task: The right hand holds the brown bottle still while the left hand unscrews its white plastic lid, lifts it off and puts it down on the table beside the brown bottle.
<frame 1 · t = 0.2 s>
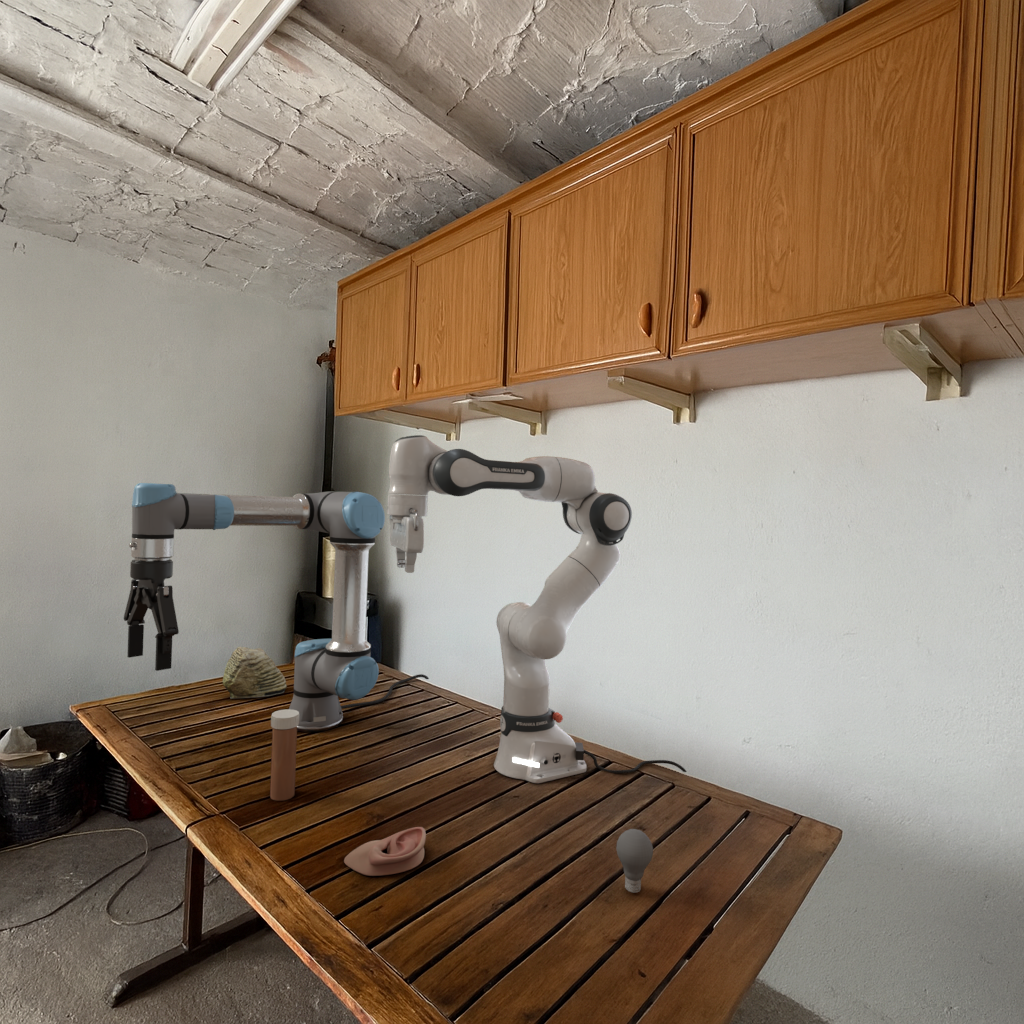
left hand: (148, 662, 129), 28 cm above the table, tool pointing down, fingers open, 13 cm apart
right hand: (405, 569, 141), 48 cm above the table, tool pointing down, fingers open, 8 cm apart
anatomical model: (385, 859, 112), on the table
brown bottle: (282, 795, 134), on the table
lid: (285, 715, 133), point 17 cm above the table, screwed on, not yet turned
light bulb: (632, 891, 106), on the table
fossil: (254, 694, 198), on the table
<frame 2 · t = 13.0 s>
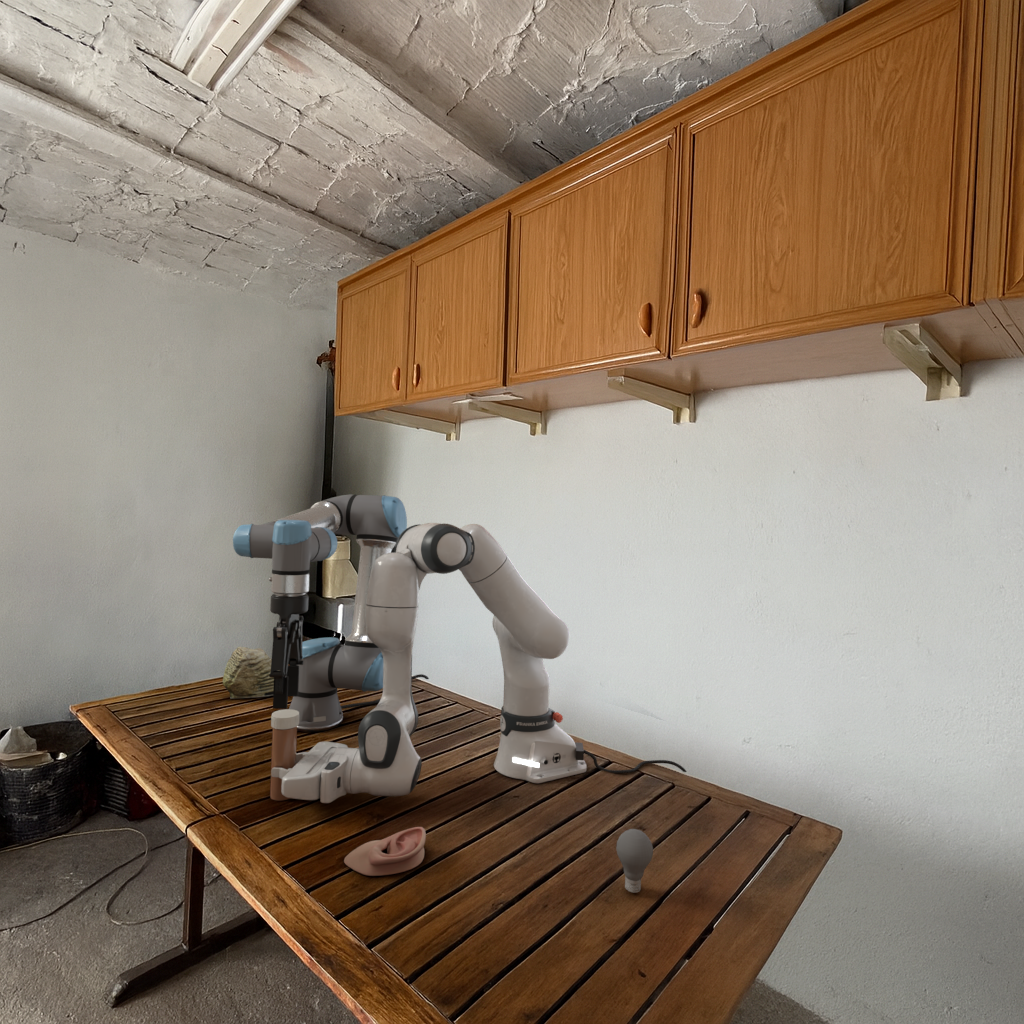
left hand: (285, 701, 133), 20 cm above the table, tool pointing down, fingers open, 7 cm apart
right hand: (279, 764, 134), 6 cm above the table, tool horizontal, fingers closed on brown bottle, 5 cm apart
brown bottle: (282, 795, 134), on the table, touching right hand
everything else where it was.
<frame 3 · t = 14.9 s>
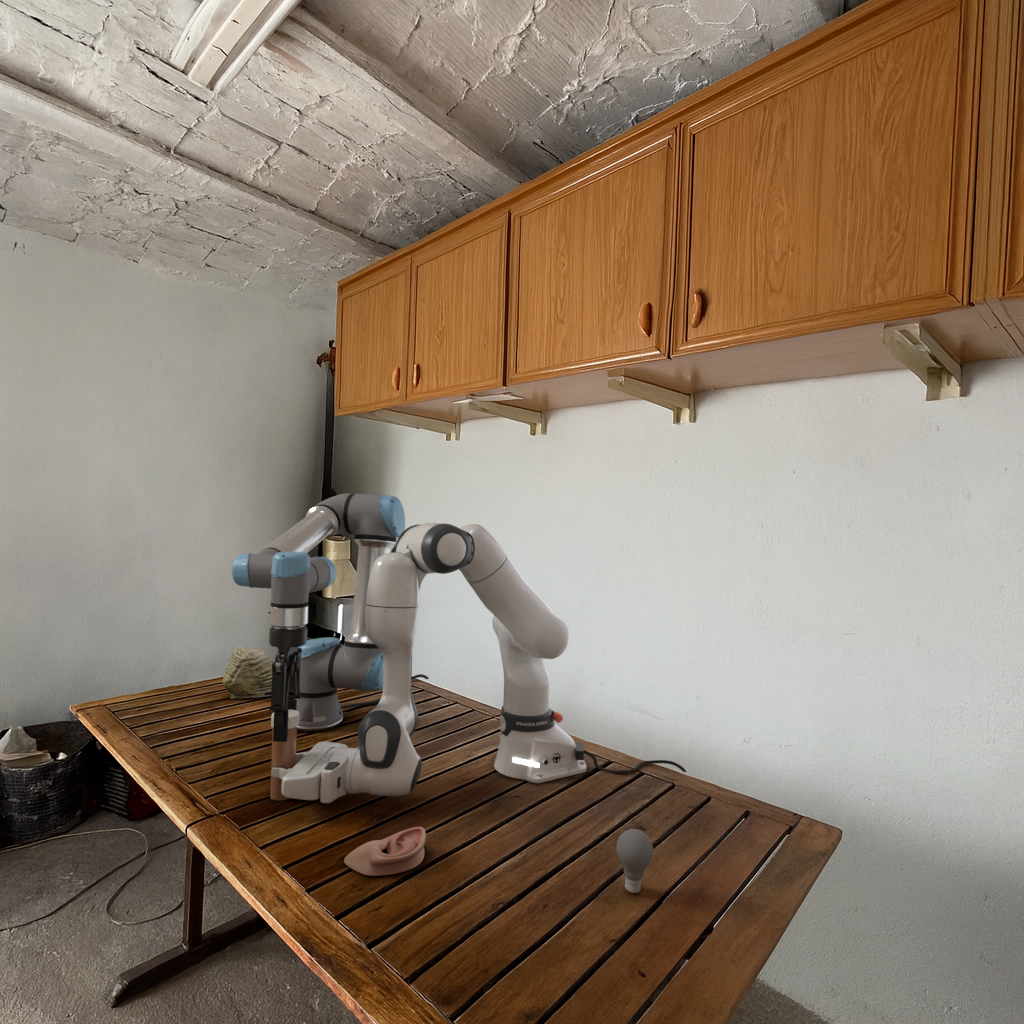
left hand: (284, 735, 133), 13 cm above the table, tool pointing down, fingers closed on lid, 5 cm apart
right hand: (279, 764, 134), 6 cm above the table, tool horizontal, fingers closed on brown bottle, 5 cm apart
brown bottle: (282, 795, 134), on the table, touching right hand
lid: (285, 715, 133), point 17 cm above the table, screwed on, not yet turned, touching left hand
everything else where it was.
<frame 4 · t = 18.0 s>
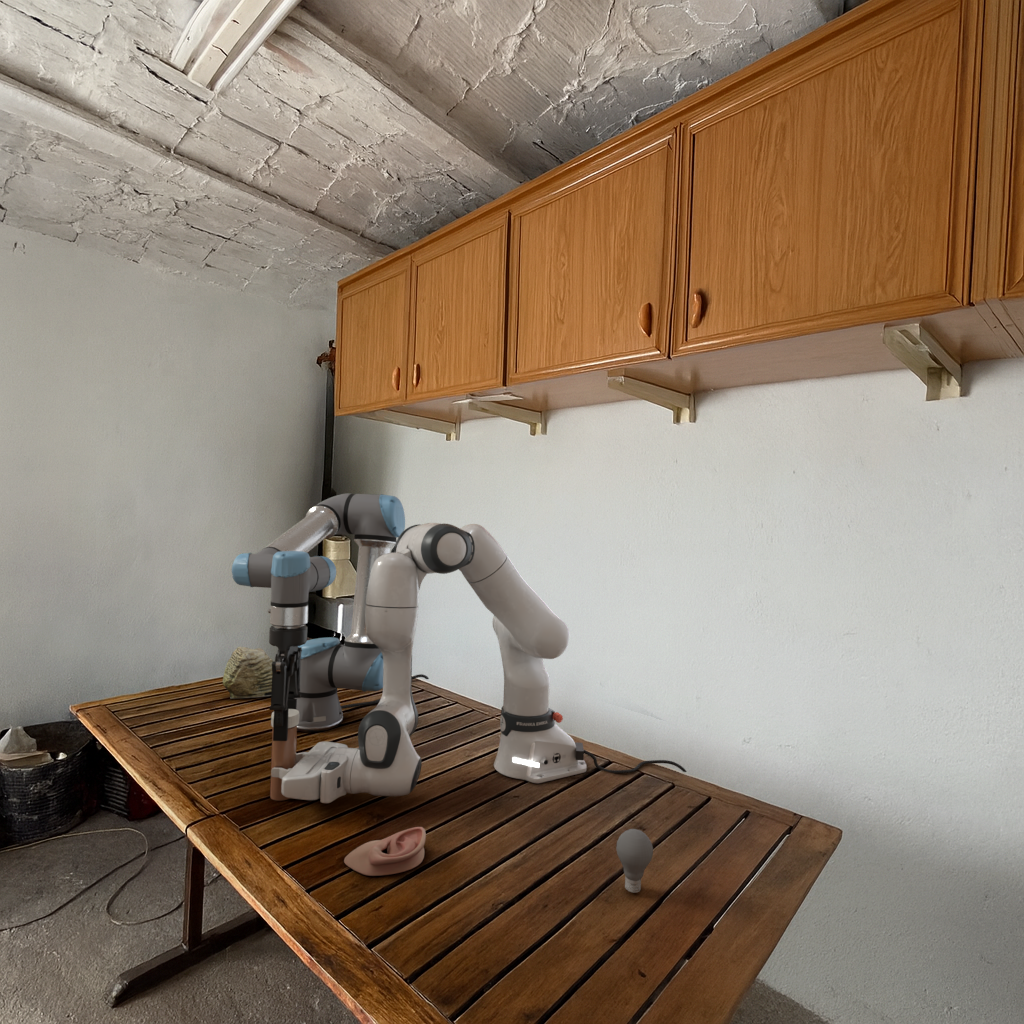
left hand: (284, 734, 133), 13 cm above the table, tool pointing down, fingers closed on lid, 5 cm apart
right hand: (279, 764, 134), 6 cm above the table, tool horizontal, fingers closed on brown bottle, 5 cm apart
brown bottle: (282, 795, 134), on the table, touching right hand
lid: (285, 714, 133), point 17 cm above the table, turned 91° so far, risen 0.2 cm, still on its thread, touching left hand
everything else where it was.
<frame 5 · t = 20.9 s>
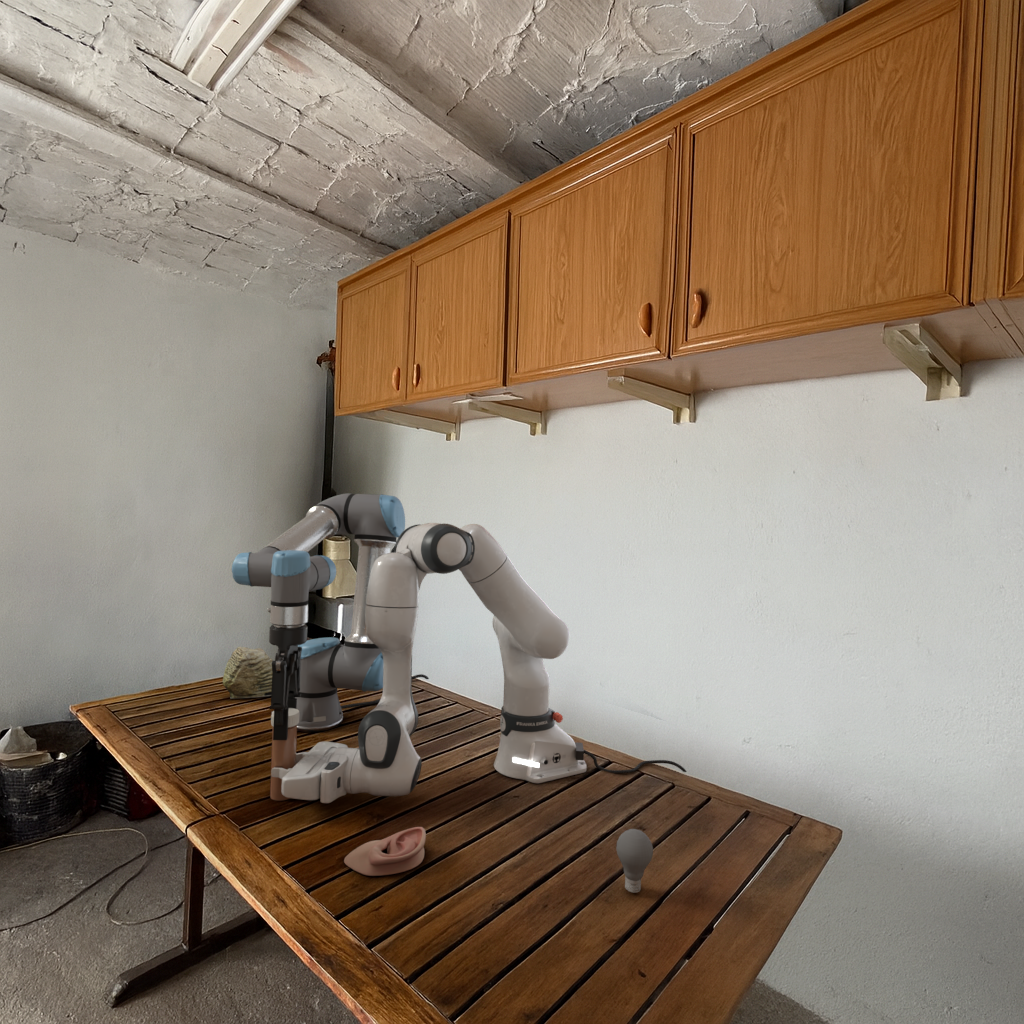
left hand: (284, 733, 133), 13 cm above the table, tool pointing down, fingers closed on lid, 5 cm apart
right hand: (279, 764, 134), 6 cm above the table, tool horizontal, fingers closed on brown bottle, 5 cm apart
brown bottle: (282, 795, 134), on the table, touching right hand
lid: (285, 713, 133), point 17 cm above the table, turned 183° so far, risen 0.3 cm, still on its thread, touching left hand
everything else where it was.
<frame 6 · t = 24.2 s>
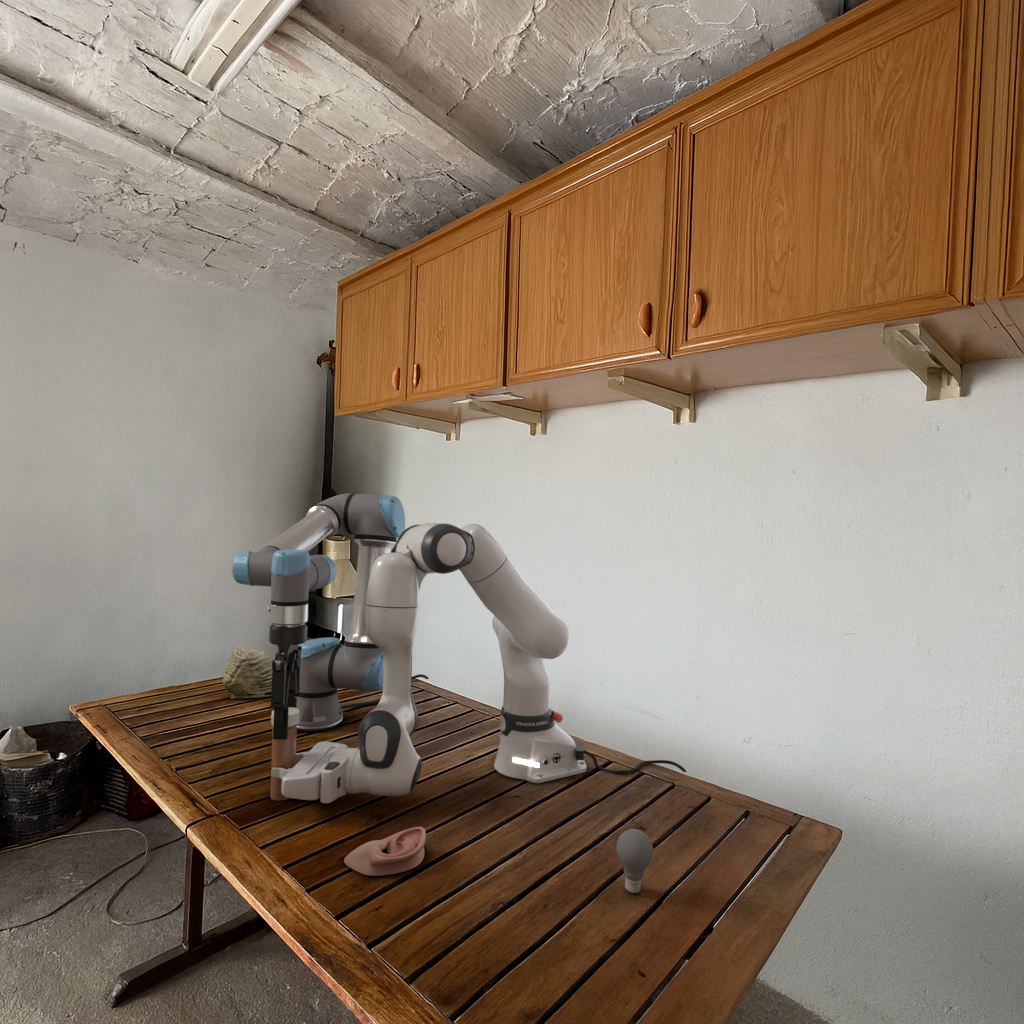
left hand: (284, 733, 133), 13 cm above the table, tool pointing down, fingers closed on lid, 5 cm apart
right hand: (279, 764, 134), 6 cm above the table, tool horizontal, fingers closed on brown bottle, 5 cm apart
brown bottle: (282, 795, 134), on the table, touching right hand
lid: (285, 713, 133), point 18 cm above the table, turned 274° so far, risen 0.5 cm, still on its thread, touching left hand
everything else where it was.
when the left hand's fingers open (0 cm above the table, at t = 30.8 s): lid drops 2 cm, point 2 cm above the table.
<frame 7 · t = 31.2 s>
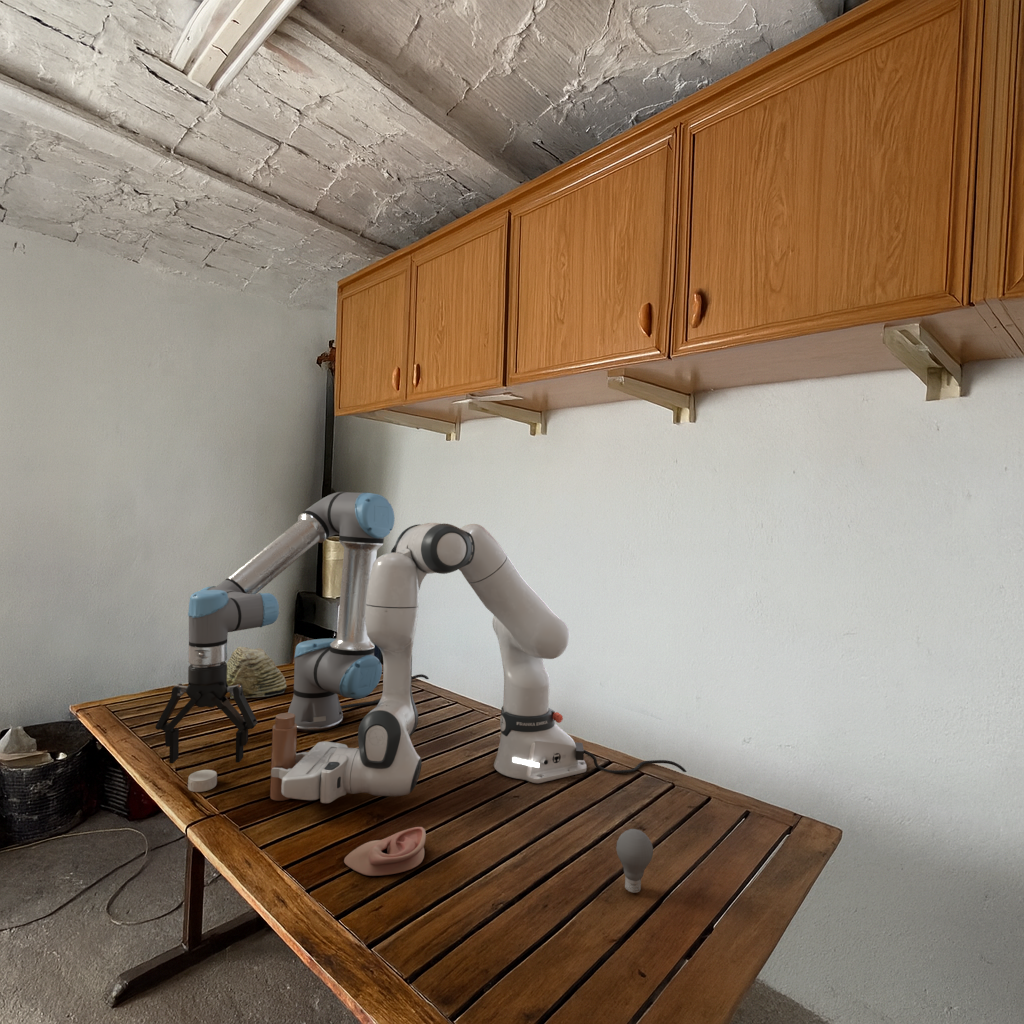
left hand: (206, 760, 137), 5 cm above the table, tool pointing down, fingers open, 13 cm apart
right hand: (279, 764, 134), 6 cm above the table, tool horizontal, fingers closed on brown bottle, 5 cm apart
brown bottle: (282, 795, 134), on the table, touching right hand
lid: (202, 776, 136), point 2 cm above the table, off its thread
everything else where it was.
when the right hand's fingers open (6 cm above the table, at t = 31.5 s): brown bottle stays where it is, on the table.
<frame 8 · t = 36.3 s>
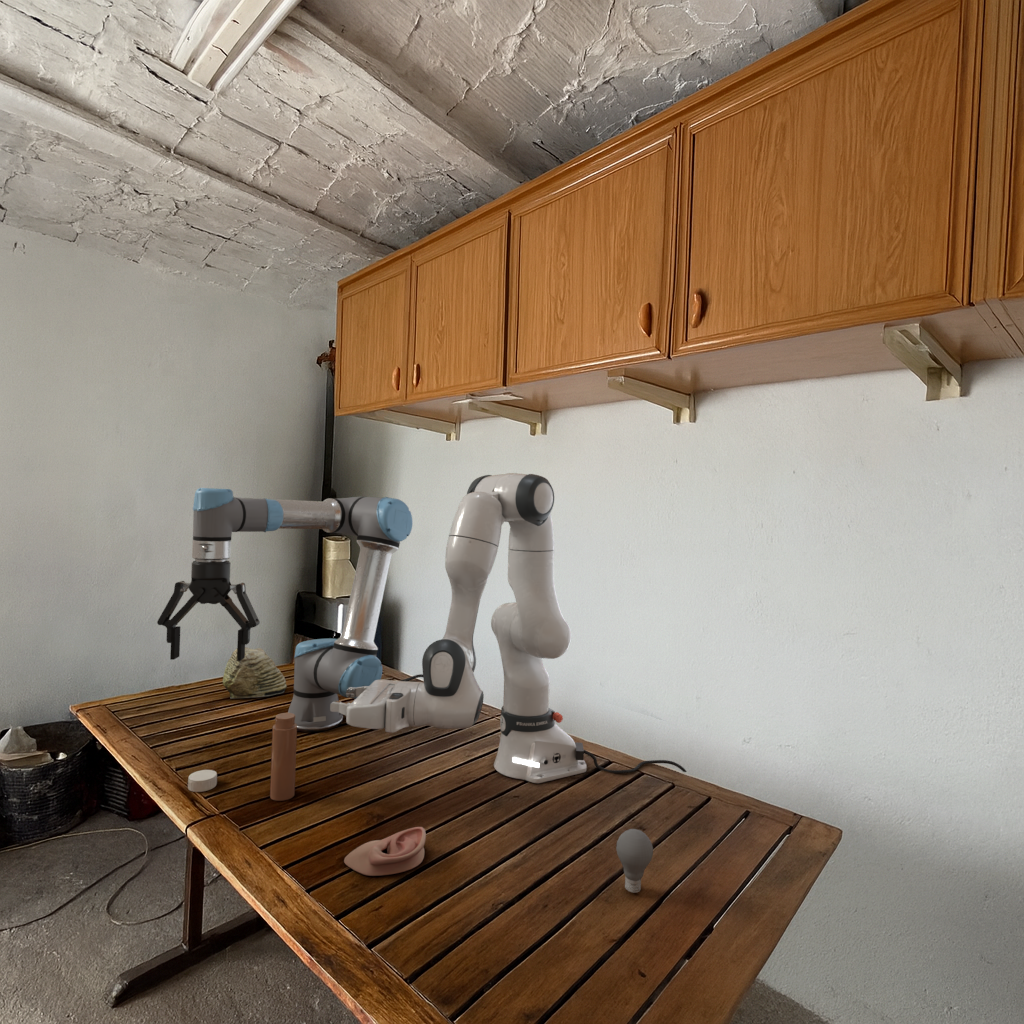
left hand: (208, 658, 136), 28 cm above the table, tool pointing down, fingers open, 13 cm apart
right hand: (339, 698, 132), 21 cm above the table, tool horizontal, fingers open, 8 cm apart
brown bottle: (282, 795, 134), on the table
everything else where it was.
at the end: lid came off its thread; lid point 2.0 cm above the table; the left hand is holding nothing; the right hand is holding nothing; brown bottle tilted 0°; brown bottle moved 0.0 cm from its start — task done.
